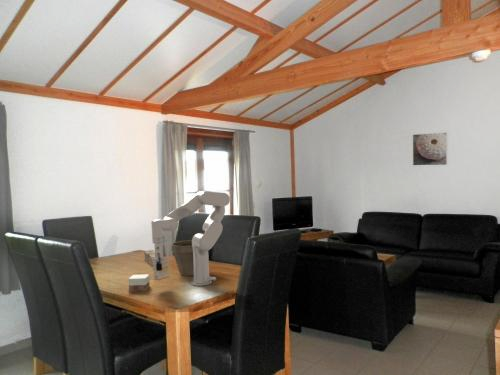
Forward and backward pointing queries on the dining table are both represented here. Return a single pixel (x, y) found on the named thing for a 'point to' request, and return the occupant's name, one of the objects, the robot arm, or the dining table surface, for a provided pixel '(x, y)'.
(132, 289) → the tower bottom block
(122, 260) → the dining table surface
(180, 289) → the dining table surface
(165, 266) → the supplement box
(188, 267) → the plant pot
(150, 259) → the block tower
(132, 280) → the tower top block
